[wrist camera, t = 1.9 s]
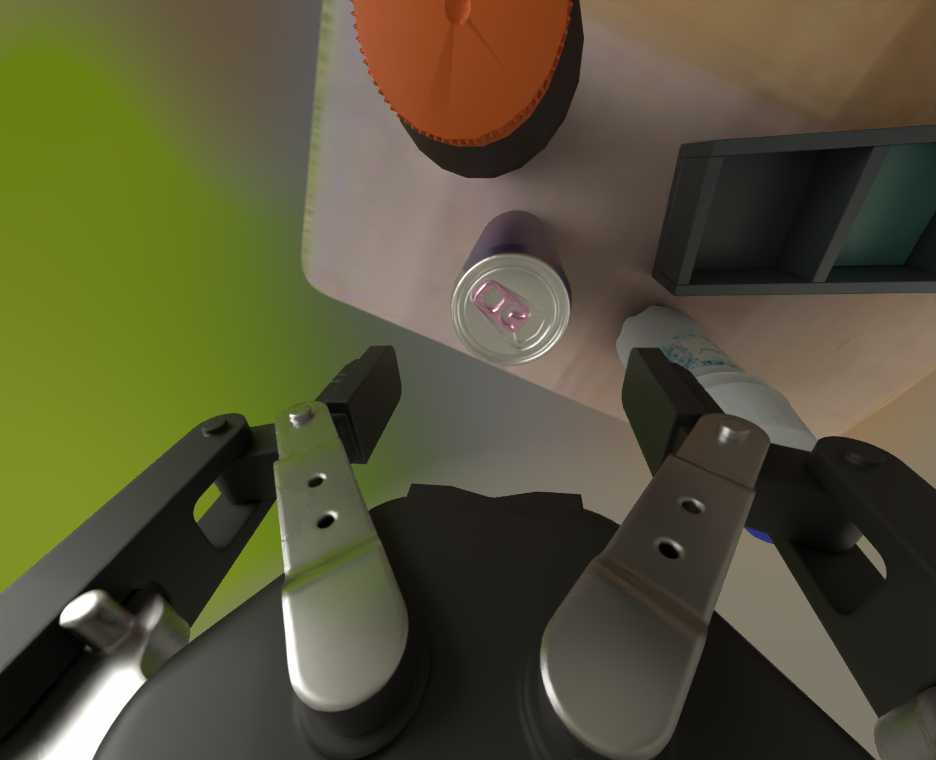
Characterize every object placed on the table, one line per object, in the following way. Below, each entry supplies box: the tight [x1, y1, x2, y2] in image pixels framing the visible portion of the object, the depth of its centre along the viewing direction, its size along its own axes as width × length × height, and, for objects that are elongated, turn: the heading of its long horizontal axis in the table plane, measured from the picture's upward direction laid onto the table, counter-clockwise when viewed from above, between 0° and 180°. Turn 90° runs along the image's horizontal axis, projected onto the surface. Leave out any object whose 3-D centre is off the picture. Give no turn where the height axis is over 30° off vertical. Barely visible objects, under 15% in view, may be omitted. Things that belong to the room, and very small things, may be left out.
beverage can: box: [451, 211, 572, 366], centre depth 23 cm, size 6×6×15 cm
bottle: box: [616, 305, 817, 544], centre depth 23 cm, size 7×7×20 cm
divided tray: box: [652, 125, 936, 296], centre depth 23 cm, size 9×17×5 cm, turn 93°
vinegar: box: [351, 0, 584, 178], centre depth 16 cm, size 7×7×20 cm
